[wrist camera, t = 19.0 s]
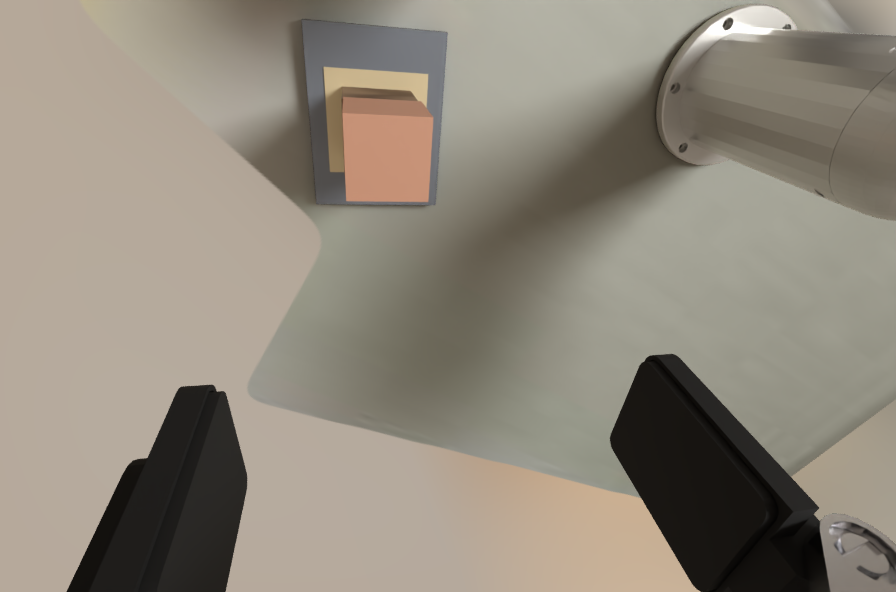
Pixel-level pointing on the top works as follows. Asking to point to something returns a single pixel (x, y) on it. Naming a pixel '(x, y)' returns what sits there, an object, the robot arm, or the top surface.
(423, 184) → the terracotta block
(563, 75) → the top surface
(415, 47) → the board
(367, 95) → the walnut block
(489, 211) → the top surface
